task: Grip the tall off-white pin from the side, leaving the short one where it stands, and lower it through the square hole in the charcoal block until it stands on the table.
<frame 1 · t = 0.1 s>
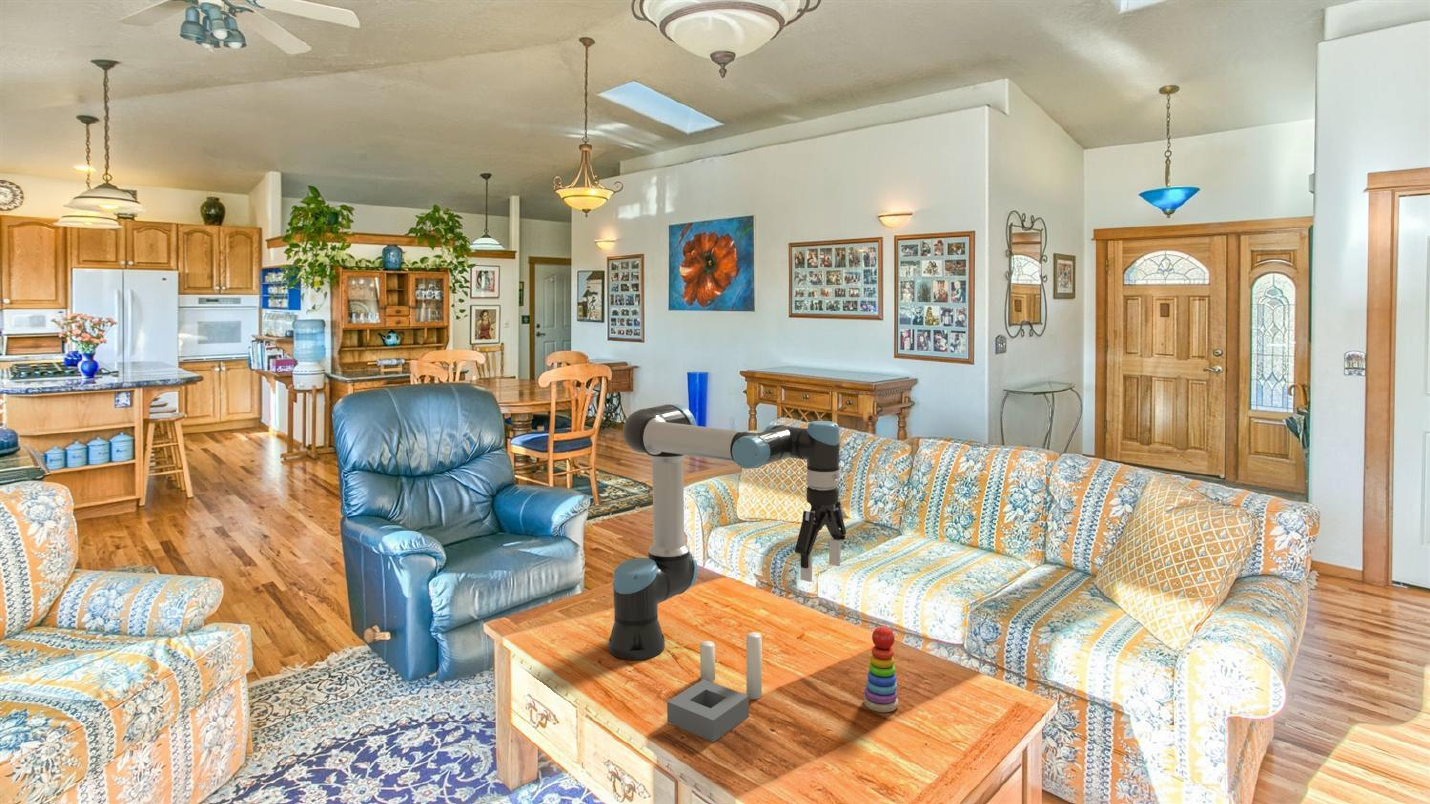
hand: (820, 572, 190), 28 cm above the table, tool pointing down, fingers open, 13 cm apart
tall pin: (754, 695, 187), on the table
short pin: (707, 678, 195), on the table
stacking toy: (880, 706, 182), on the table
hole block: (708, 719, 176), on the table
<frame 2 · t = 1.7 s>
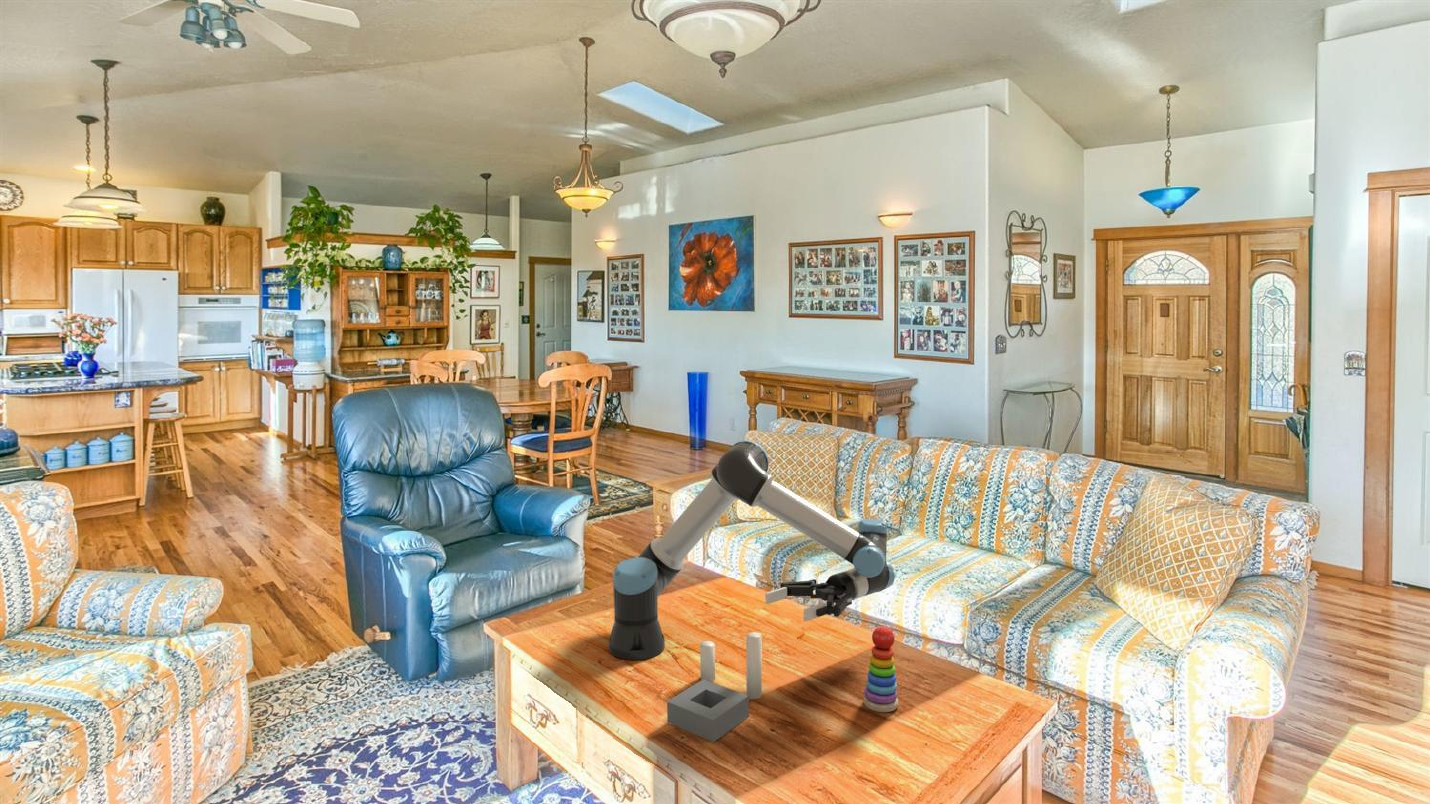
hand: (785, 606, 190), 20 cm above the table, tool horizontal, fingers open, 13 cm apart
nothing on the table moved.
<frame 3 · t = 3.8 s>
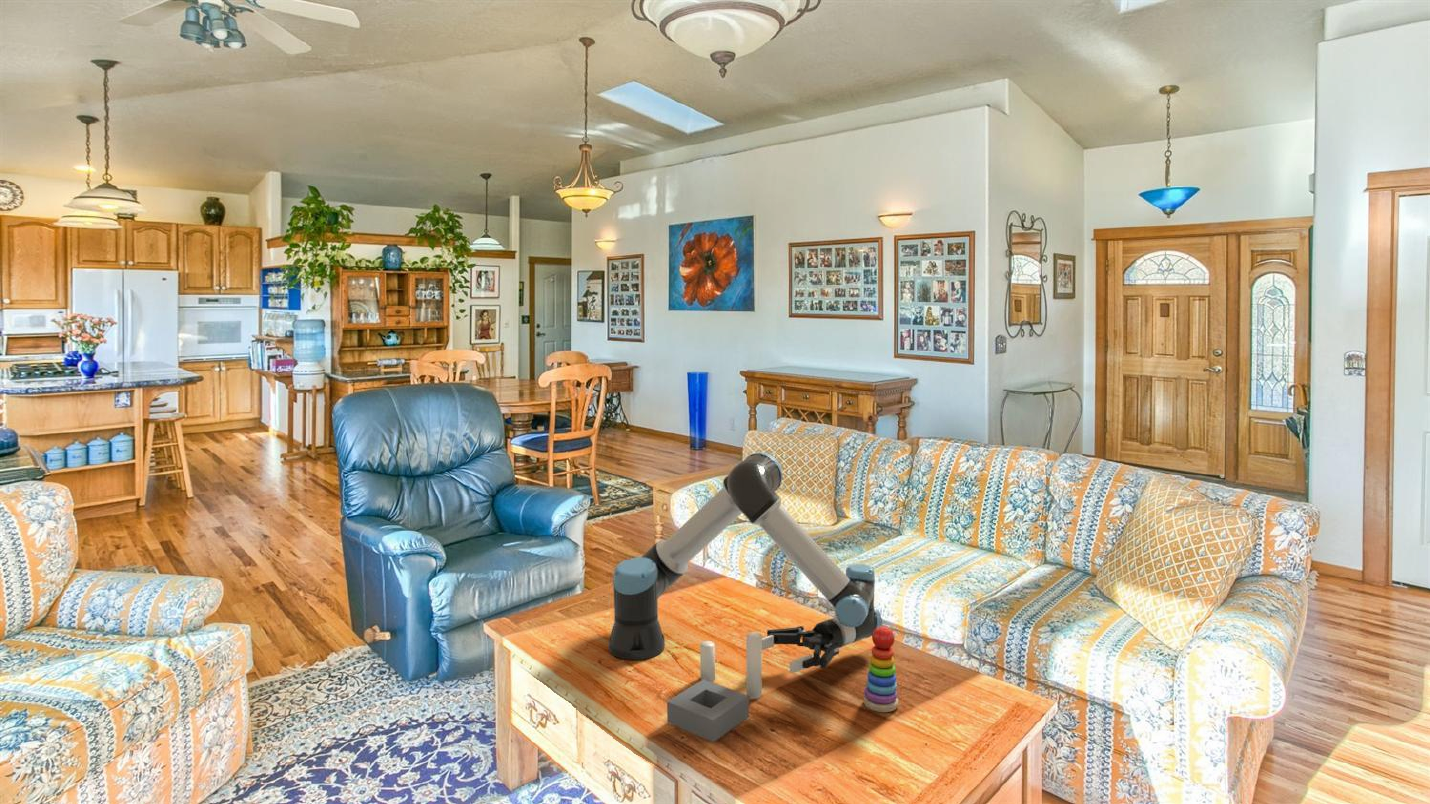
hand: (771, 657, 188), 8 cm above the table, tool horizontal, fingers open, 13 cm apart
nothing on the table moved.
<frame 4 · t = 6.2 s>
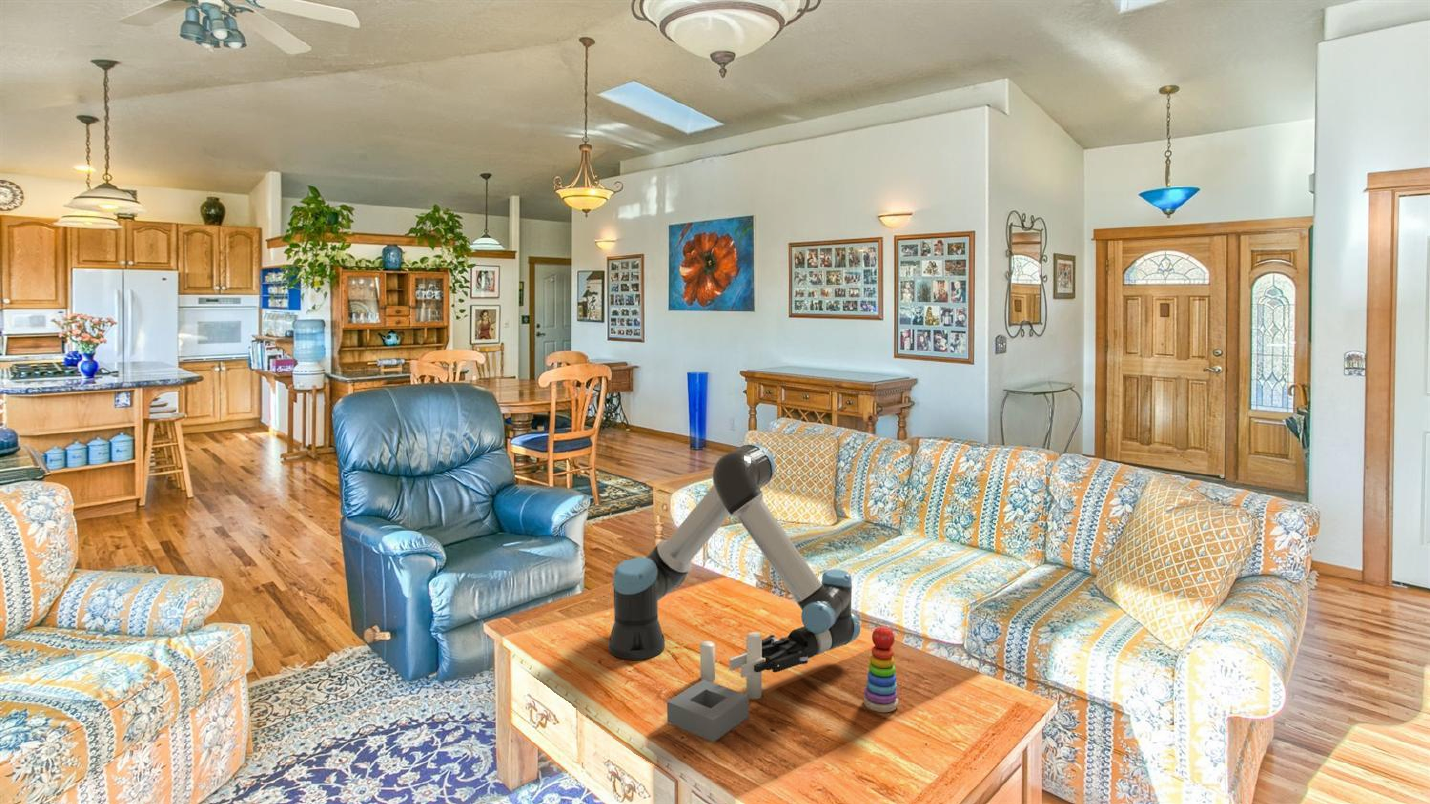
hand: (736, 668, 182), 9 cm above the table, tool horizontal, fingers closed on tall pin, 3 cm apart
tall pin: (754, 695, 187), on the table, touching gripper
everything else where it was.
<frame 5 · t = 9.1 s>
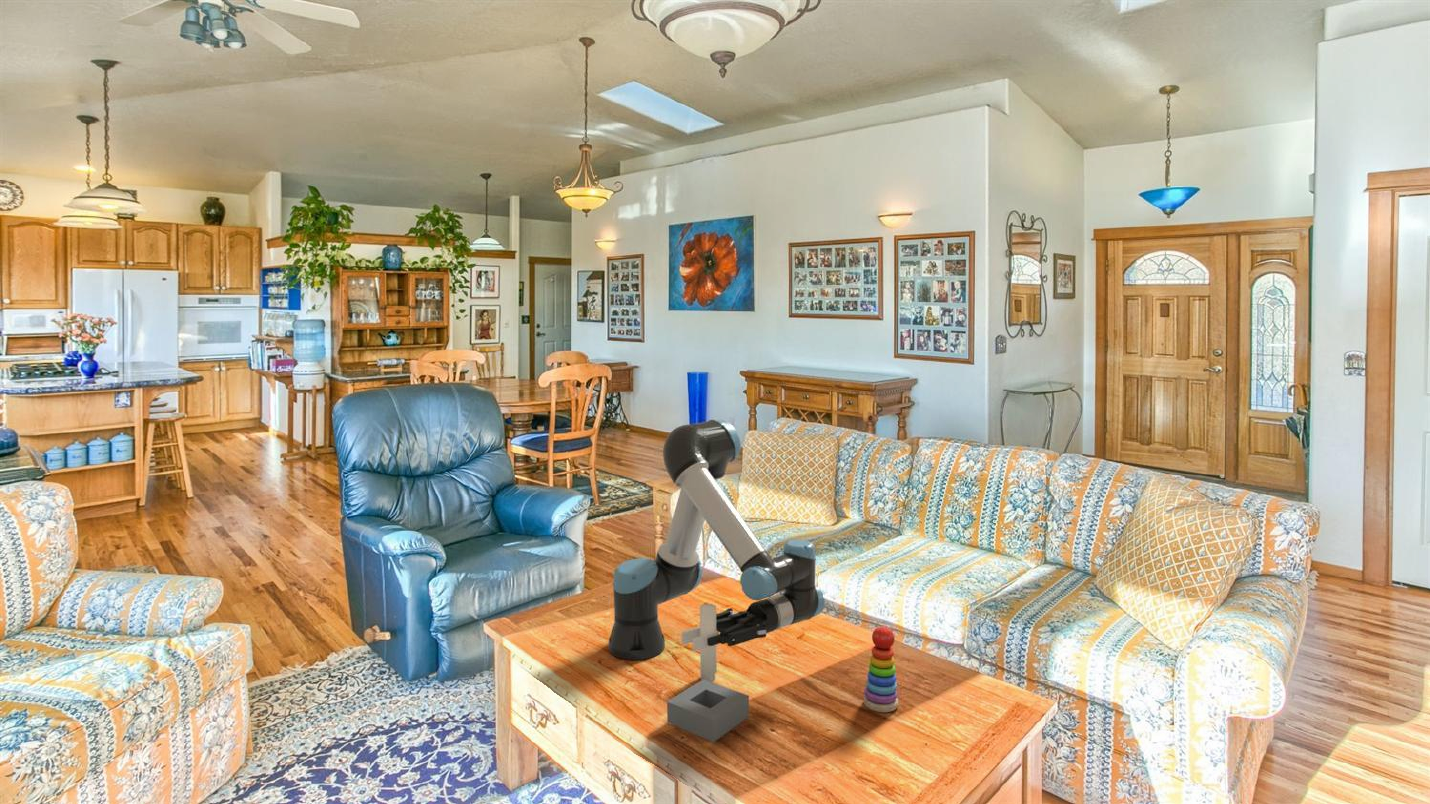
hand: (688, 641, 170), 20 cm above the table, tool horizontal, fingers closed on tall pin, 3 cm apart
tall pin: (708, 671, 175), point 11 cm above the table, touching gripper
everything else where it was.
when the fingers open (11 cm above the table, at t = 12.0 s): tall pin drops 2 cm, resting in hole block.
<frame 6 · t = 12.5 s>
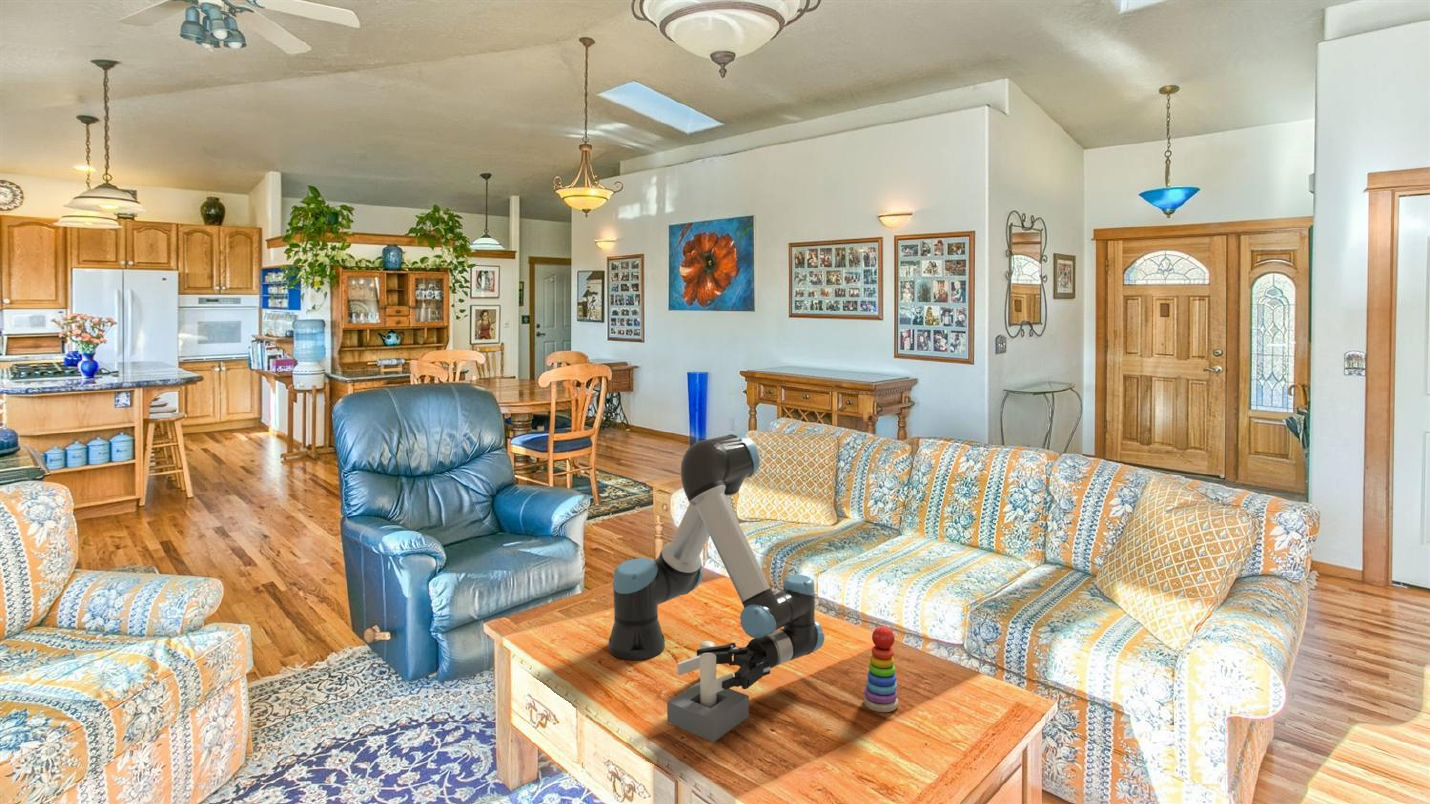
hand: (692, 678, 172), 11 cm above the table, tool horizontal, fingers open, 10 cm apart
tall pin: (708, 719, 176), resting in hole block
everything else where it was.
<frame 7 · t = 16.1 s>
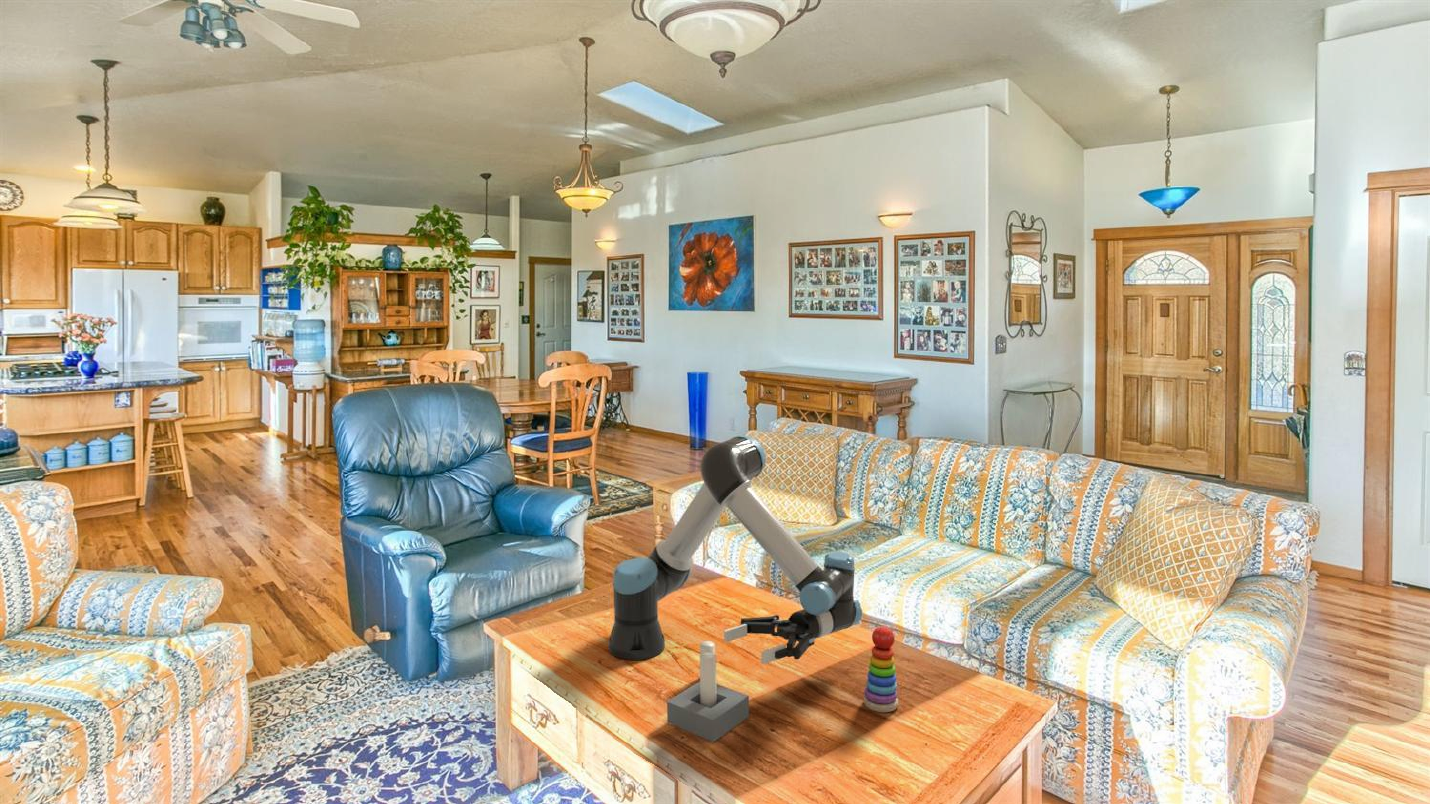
hand: (742, 647, 180), 14 cm above the table, tool horizontal, fingers open, 13 cm apart
nothing on the table moved.
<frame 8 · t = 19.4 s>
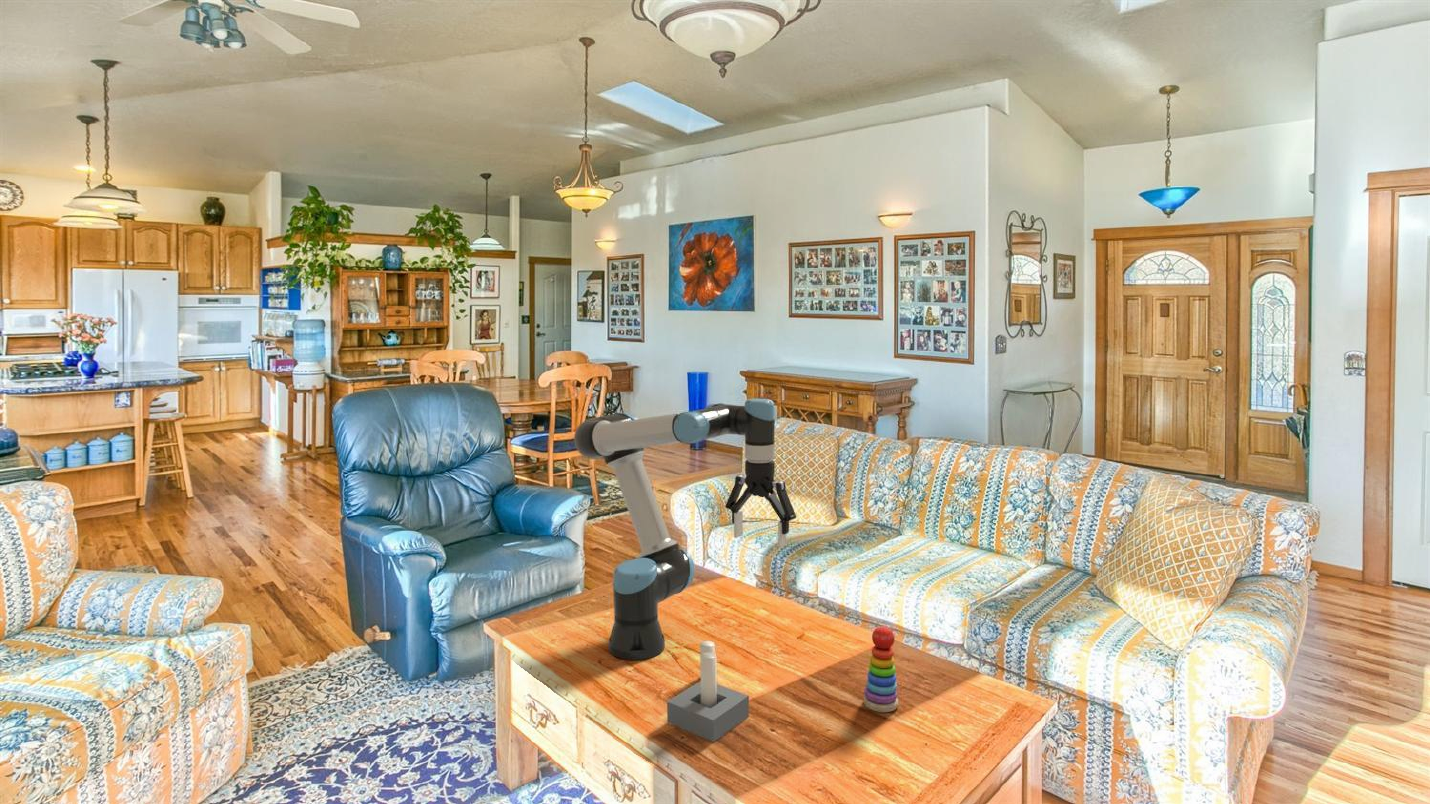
hand: (759, 541, 202), 32 cm above the table, tool pointing down, fingers open, 13 cm apart
nothing on the table moved.
at the end: tall pin 0.1 cm off-centre on the hole block, point 0.0 cm above the hole block's base; tall pin tilted 0°; short pin moved 0.0 cm from its start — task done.
